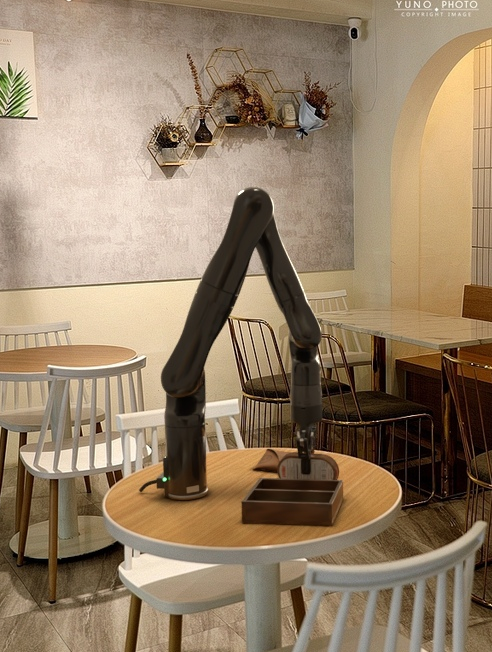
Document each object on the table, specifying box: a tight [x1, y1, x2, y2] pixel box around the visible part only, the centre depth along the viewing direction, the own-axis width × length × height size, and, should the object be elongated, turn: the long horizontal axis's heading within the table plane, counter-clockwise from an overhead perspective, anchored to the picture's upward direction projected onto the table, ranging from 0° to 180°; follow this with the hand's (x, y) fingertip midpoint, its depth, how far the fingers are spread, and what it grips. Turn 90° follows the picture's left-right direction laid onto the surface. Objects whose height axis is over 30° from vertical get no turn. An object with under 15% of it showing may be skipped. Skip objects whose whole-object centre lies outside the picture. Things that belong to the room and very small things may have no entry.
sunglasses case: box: [252, 448, 292, 473], centre depth 225 cm, size 18×7×7 cm
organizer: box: [240, 477, 344, 527], centre depth 194 cm, size 20×16×5 cm
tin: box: [276, 451, 340, 480], centre depth 210 cm, size 15×3×8 cm, turn 78°
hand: (307, 471), depth 210 cm, fingers closed on tin, 3 cm apart
